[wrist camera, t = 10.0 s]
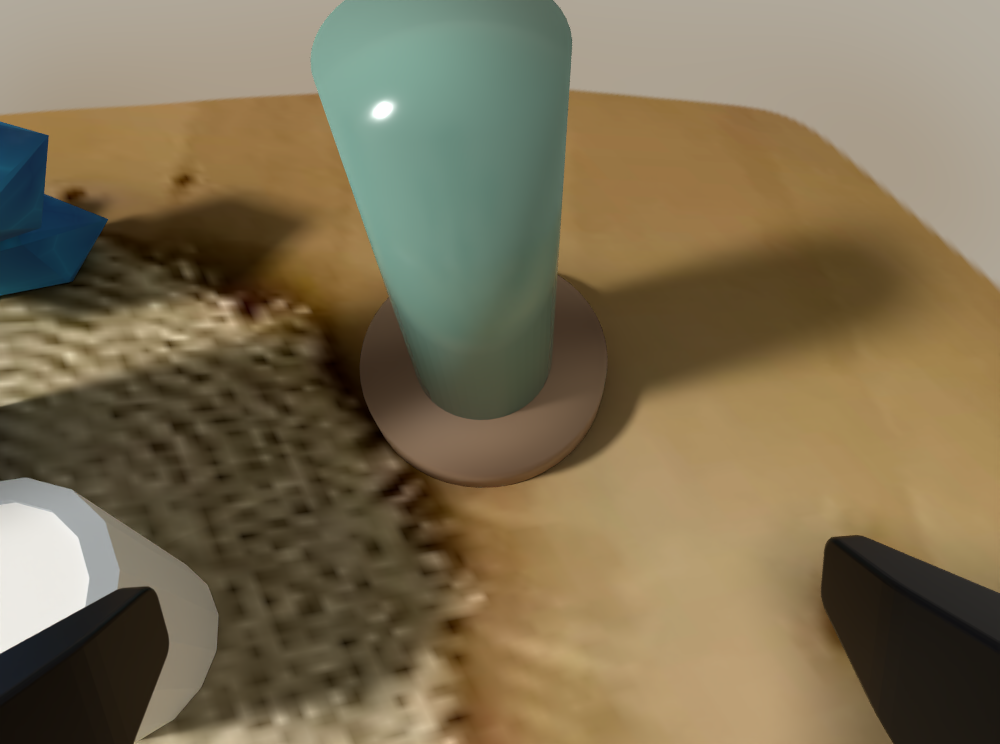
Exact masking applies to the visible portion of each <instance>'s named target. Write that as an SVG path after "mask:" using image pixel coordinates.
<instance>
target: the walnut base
mask: <svg viewBox="0 0 1000 744" xmlns="http://www.w3.org/2000/svg"><path fill="white" fill-rule="evenodd" d="M607 358H608V356H607V348H606V341H605V338H604V334H603V330H602V327H601V325H600V323H599V321H598V318H597V316H596V314H595V313H594V311H593V310H592V308H591V306H590V305H589V303H588V302H587V301H586V300H585V298H584V297H583V296H582V295H581V294H580V293H579V292H578V291H577V290H576V289H575V288H574V287H573V286H572V285H571V284H570V283H568V282H567V281H566V280H564V279H563V278H562V277H560V276H559V275H557V288H556V304H555V320H554V335H553V351H552V365H551V370H550V373H549V376H548V379H547V381H546V383H545V385H544V387H543V388H542V390H541V391H540V392H539V394H538V395H537V396H536V397H535V398H534V399H533V400H532V401H531V402H530V403H529V404H527V405H526V406H525V407H523V408H521V409H520V410H518V411H516V412H514V413H512V414H510V415H507V416H504V417H501V418H496V419H490V420H472V419H466V418H462V417H458V416H455V415H453V414H450V413H448V412H446V411H444V410H443V409H441V408H440V407H438V406H437V405H436V404H435V403H433V402H432V401H431V400H430V399H429V398H428V396H427V395H426V394H425V392H424V391H423V389H422V388H421V386H420V384H419V382H418V379H417V376H416V373H415V370H414V367H413V365H412V362H411V359H410V356H409V353H408V350H407V347H406V344H405V341H404V339H403V336H402V333H401V330H400V327H399V324H398V321H397V318H396V315H395V313H394V310H393V307H392V304H391V301H390V298H388V299H387V300H386V301H385V302H384V303H383V305H382V306H381V307H380V309H379V310H378V312H377V313H376V314H375V316H374V318H373V320H372V322H371V324H370V326H369V328H368V330H367V333H366V336H365V338H364V341H363V346H362V350H361V357H360V380H361V386H362V391H363V395H364V398H365V401H366V403H367V406H368V408H369V411H370V413H371V415H372V416H373V418H374V420H375V422H376V424H377V426H378V427H379V429H380V431H381V432H382V434H383V436H384V438H385V439H386V441H387V442H388V443H389V444H390V446H391V447H392V448H393V449H394V451H395V452H396V453H397V454H399V455H400V456H401V457H402V458H403V459H404V460H405V461H406V462H407V463H409V464H410V465H412V466H413V467H415V468H416V469H417V470H419V471H421V472H423V473H425V474H427V475H429V476H431V477H433V478H435V479H438V480H441V481H444V482H447V483H451V484H455V485H460V486H467V487H478V488H483V487H499V486H505V485H510V484H515V483H518V482H521V481H525V480H528V479H530V478H533V477H535V476H537V475H539V474H541V473H544V472H545V471H547V470H549V469H550V468H552V467H553V466H555V465H557V464H558V463H559V462H561V461H562V460H563V459H564V458H565V457H567V456H568V455H569V454H570V453H571V452H572V451H573V450H574V449H575V448H576V447H577V446H578V445H579V443H580V442H581V441H582V439H583V438H584V437H585V435H586V434H587V432H588V431H589V429H590V427H591V425H592V423H593V421H594V419H595V417H596V415H597V412H598V409H599V406H600V403H601V398H602V394H603V390H604V386H605V380H606V375H607Z"/></svg>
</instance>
